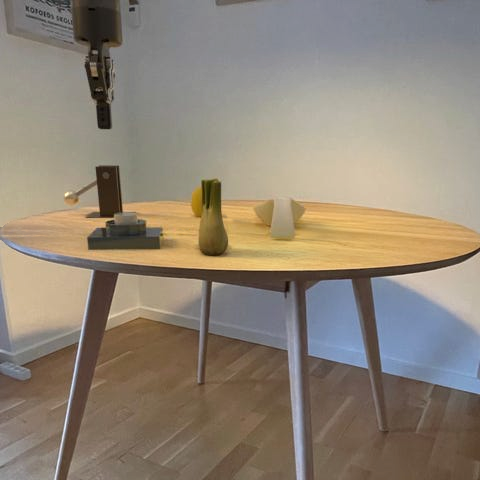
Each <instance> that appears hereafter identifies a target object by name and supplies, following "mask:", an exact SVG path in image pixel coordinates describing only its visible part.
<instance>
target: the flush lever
mask: <svg viewBox="0 0 480 480" xmlns="http://www.w3.org/2000/svg"><path fill="white" fill-rule="evenodd" d="M110 167H111V166H110ZM94 187H97V179H96V178H95V179H94V180H93V181H91V182H89V183H88V184H86V185H85V186H83V187H82V188H80V189H78V190H77V191H75V190H67V191H66V192H65V193H64V194H63V200H64V203H66V204H67V205H69V206H74V205H77V204H78V203H79V201H80V196H81V195H83V194H85V193H86V192H88V191H89V190H92V188H94Z"/></svg>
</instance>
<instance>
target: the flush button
mask: <svg viewBox="0 0 480 480" xmlns="http://www.w3.org/2000/svg"><path fill="white" fill-rule="evenodd" d="M133 212H134V211H123V212H121V213H115V214H114V218H113V220H114V222H115V223H116V224H133V223H138V219H139V217H138V213H137V212H136V213H133Z"/></svg>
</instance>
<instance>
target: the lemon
mask: <svg viewBox="0 0 480 480" xmlns="http://www.w3.org/2000/svg"><path fill="white" fill-rule="evenodd" d="M190 207H191V208H190V209H191V210H192V213H193V215H195V216H196V217H198V218H201V213H202V185H201V184H200V186H198V187H197V188H195V189H194V190H193V191H192V194H191V198H190Z"/></svg>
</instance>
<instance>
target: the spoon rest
mask: <svg viewBox="0 0 480 480" xmlns="http://www.w3.org/2000/svg"><path fill="white" fill-rule="evenodd" d="M252 210H253V212H254V214H255V216H256V217H257V218H258V219H259V220H261V222H263V223H264V225H266V226H269V227H270V231H269V238H271V239H285V240H286V239H295V237H296V229H295V223H296V222H298V221H299V220H300V219H301V218H302V217H303V216H304V215H305V213H306V211H307V207H306V206H304V205H302V204H301V203H300V202H297V200H295V199H294V198H292V197H285V198H278V197H271V198H268V199H266V200H265V201H262V202H261V203H258V204H256V205H253V206H252Z"/></svg>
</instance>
